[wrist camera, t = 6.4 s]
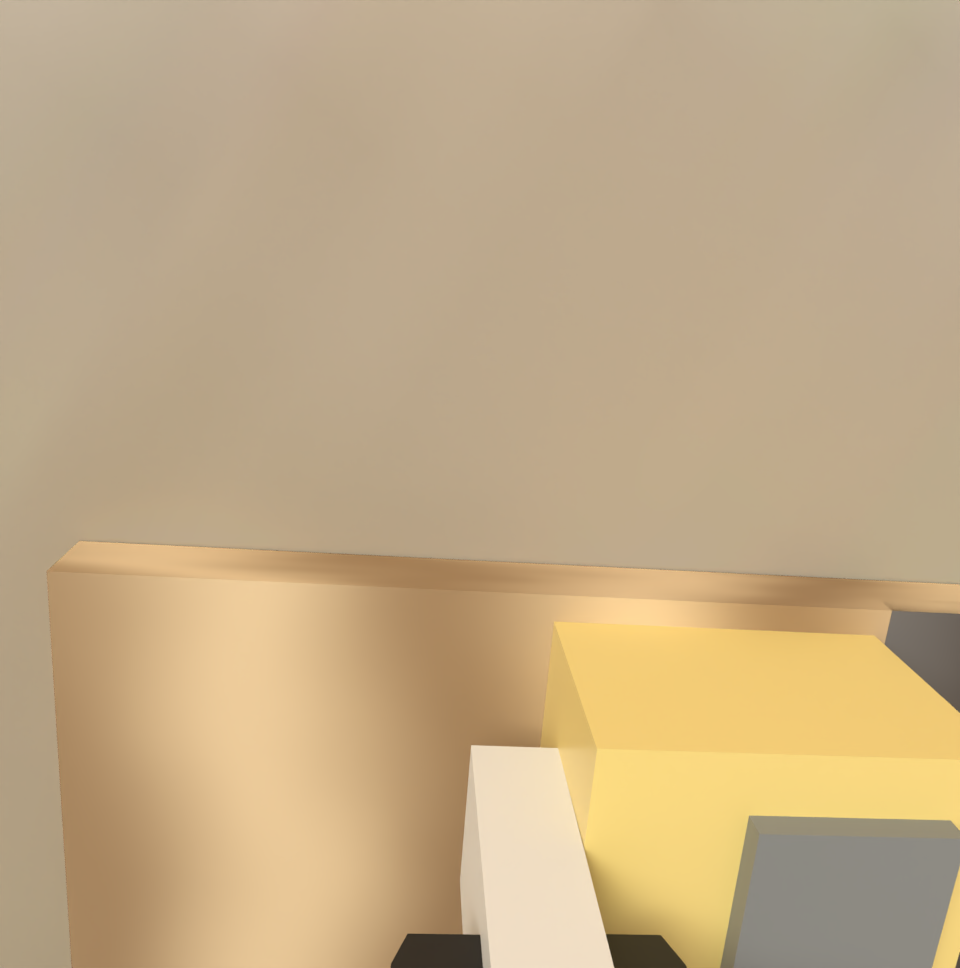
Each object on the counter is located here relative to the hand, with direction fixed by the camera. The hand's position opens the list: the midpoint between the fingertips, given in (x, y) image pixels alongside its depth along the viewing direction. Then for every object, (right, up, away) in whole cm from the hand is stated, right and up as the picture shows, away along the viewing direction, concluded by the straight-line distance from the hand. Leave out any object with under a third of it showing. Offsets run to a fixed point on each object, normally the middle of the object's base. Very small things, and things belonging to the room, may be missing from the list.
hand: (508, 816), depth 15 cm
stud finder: (+4, 0, +2) cm, 4 cm away
